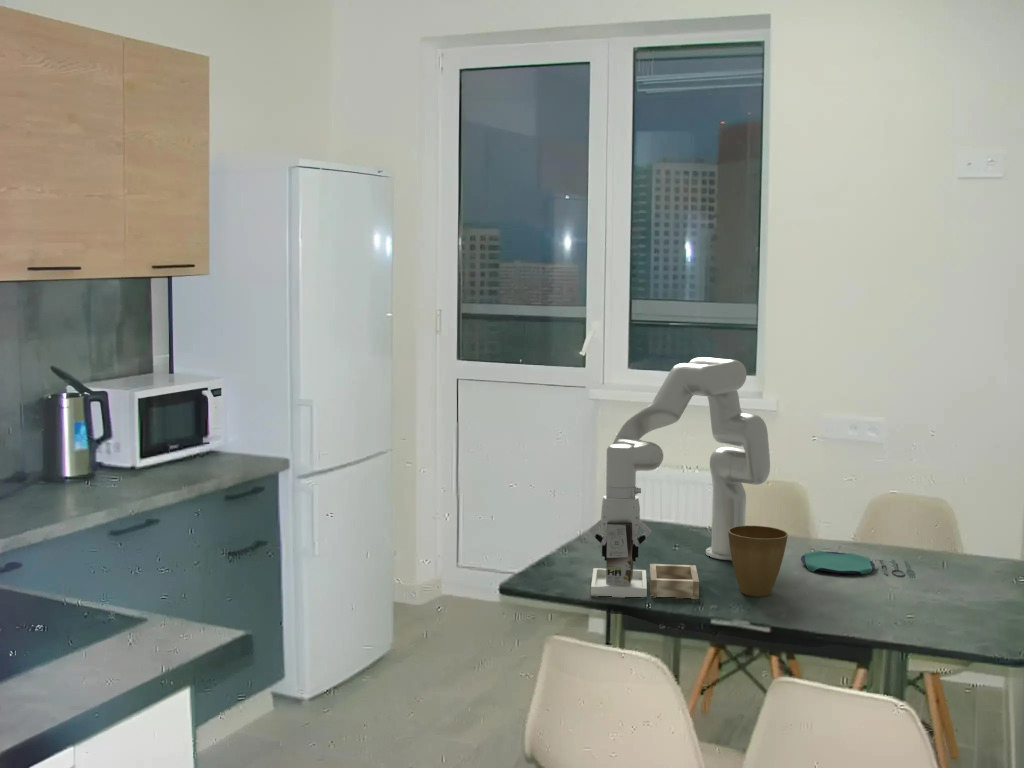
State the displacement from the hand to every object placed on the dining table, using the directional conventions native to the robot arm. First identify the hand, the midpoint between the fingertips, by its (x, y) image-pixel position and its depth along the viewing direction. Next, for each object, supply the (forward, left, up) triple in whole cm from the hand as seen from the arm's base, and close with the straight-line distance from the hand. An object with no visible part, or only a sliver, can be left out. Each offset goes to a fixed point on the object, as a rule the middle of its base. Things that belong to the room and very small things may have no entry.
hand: (620, 559), depth 278 cm
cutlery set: (-65, -27, -8) cm, 71 cm away
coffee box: (0, 0, -6) cm, 6 cm away
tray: (0, 0, -7) cm, 7 cm away
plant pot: (-35, 0, -8) cm, 36 cm away
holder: (-14, 0, -7) cm, 16 cm away
